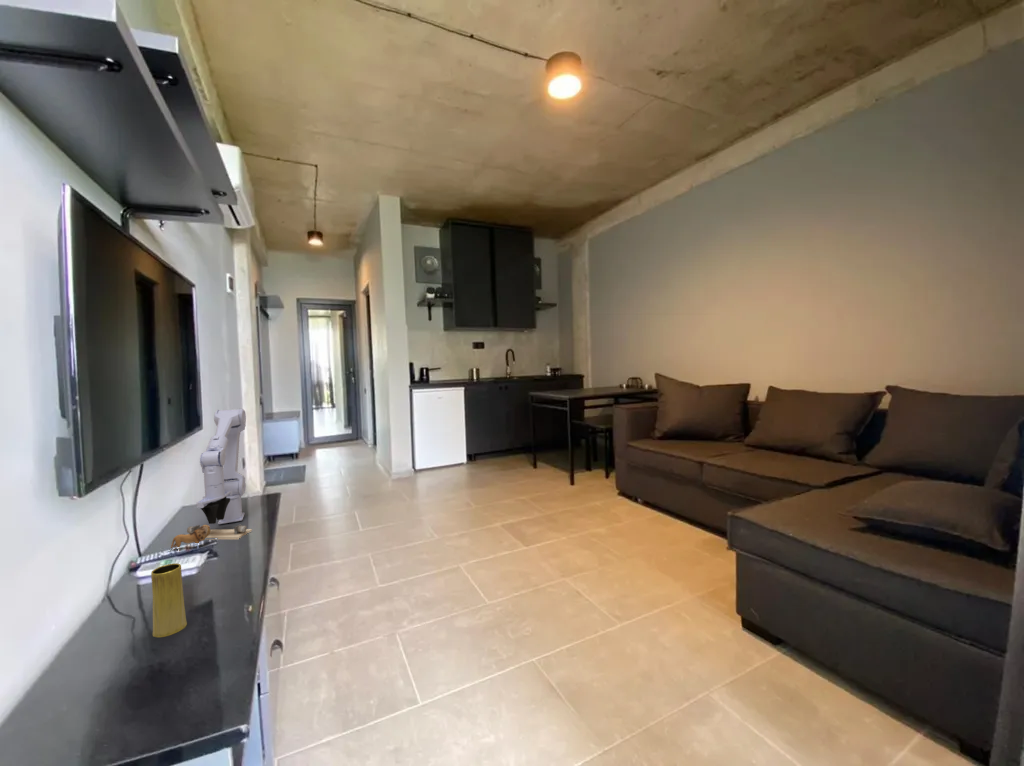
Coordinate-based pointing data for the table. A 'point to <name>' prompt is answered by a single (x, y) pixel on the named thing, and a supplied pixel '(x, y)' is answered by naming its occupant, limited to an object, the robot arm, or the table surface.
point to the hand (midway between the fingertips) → (216, 521)
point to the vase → (168, 600)
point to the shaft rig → (224, 532)
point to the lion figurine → (192, 536)
